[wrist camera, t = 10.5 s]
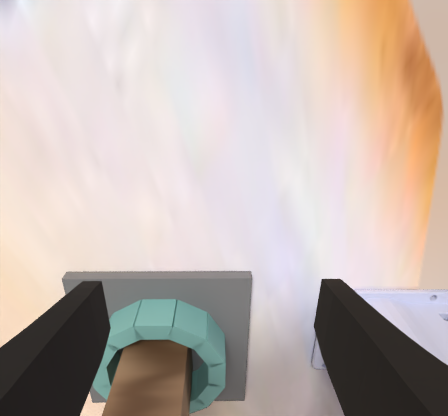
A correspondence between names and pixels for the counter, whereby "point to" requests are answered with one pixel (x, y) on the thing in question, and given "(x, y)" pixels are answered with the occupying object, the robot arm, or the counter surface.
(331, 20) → the counter surface
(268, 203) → the counter surface
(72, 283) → the collar
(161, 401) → the walnut peg
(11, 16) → the counter surface
